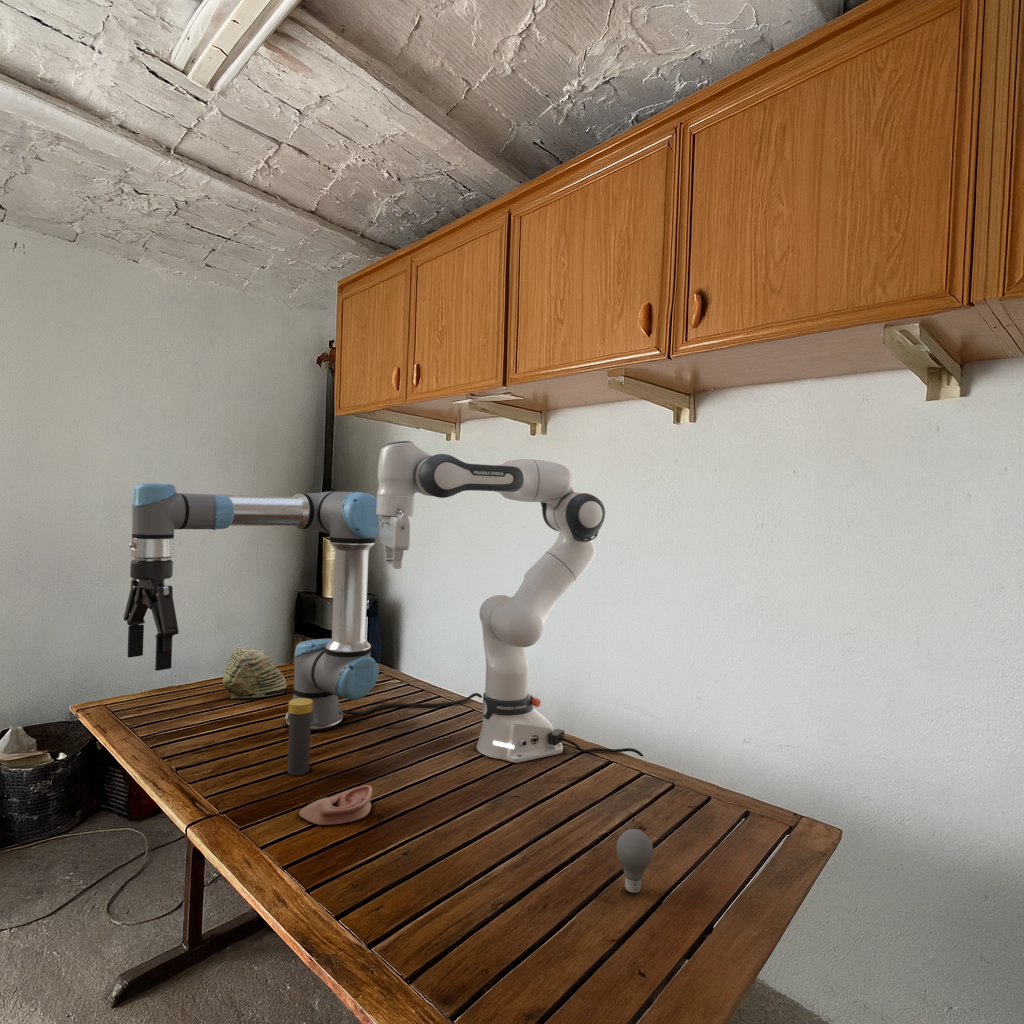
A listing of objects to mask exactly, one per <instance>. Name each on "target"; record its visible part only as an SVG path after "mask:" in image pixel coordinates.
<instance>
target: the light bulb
mask: <svg viewBox="0 0 1024 1024" xmlns="http://www.w3.org/2000/svg"><path fill="white" fill-rule="evenodd" d="M615 849H616V854H617V857H618V859H619V861H620V863H621V865H622V867H623V873H624V874H623V875H624V876H625V878H624V888H625V890H627V891H628V892H630V893H634V894H635V893H639V892H640V891H641V889H642V887H641V886H642V879H643V877H644V875H645V871H646V868H647V867H648V866H649V864H650V863H651V861H652V859H653V855H654V847H653V843H652V841H651V838H649V836H648V835H647V834H646V833H645V832H643V831H642V830H641V829H636V828H629V829H627V830H625V831H623V832H622V833H621V834H620V835H619V837H618V839H617V841H616V847H615Z"/></svg>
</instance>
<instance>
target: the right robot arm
mask: <svg viewBox="0 0 1024 1024" xmlns="http://www.w3.org/2000/svg"><path fill="white" fill-rule="evenodd" d="M377 481H378V489H377V493H376V498H377V508H376V515H379V534H378V538H379V543H380V544H381V545H383V546H384V553H385V554H384V556H385V561H384V562H385V564H387V565H392V568H393V569H395V570H401V568H402V563H403V562H402V561H403V557H404V551H409V550H410V547H411V546H410V545H411V521H410V519H409V517H415V516H414V515H415V495H416V493H418V494H421V495H422V496H426V497H435V498H439V499H445V498H450V497H453V496H456V495H458V494H460V493H463V492H469V491H475V492H477V491H478V492H495V493H499V494H500V495H501V496H502V497H503V498H504V499H507V500H511V501H516V502H522V503H523V502H524V503H525V502H526V503H540V506H541V512H542V519H543V521H544V523H545V524H546V526H547V527H549V528H550V529H552V530H553V531H555V532H558V536H557V538H556V540H555V541H554V544H553V545H552V546H551V547H549V548H548V550H546V551H545V552H544V553H543V555H542V556H541V557H540V558H538V560H537V561H535V563H533V565H532V566H530V568H529V569H528V570H527V571H526V572H525V574H524V577H523V580H522V582H521V585H520V586H519V587H518V589H517V591H516V592H515V593H514V595H513V596H509V595H506V594H497V595H492V596H489V597H487V598H486V599H485V600H484V601H483V602H482V604H481V605H480V608H479V615H478V616H479V620H480V623H481V629H482V639H483V648H484V655H485V683H484V684H485V685H484V686H485V688H484V692H483V694H482V702H481V703H482V704H481V712H482V722H481V727H480V728H481V729H480V733H479V737H478V739H477V743H476V746H475V749H476V751H478V752H479V753H480V754H482V755H483V756H486V757H489V758H493V759H498V760H503V761H508V762H510V763H515V764H518V763H523V762H528V761H532V760H537V759H541V758H546V757H550V756H555V755H559V754H563V752H564V745H563V742H565V743H567V744H570V745H572V746H574V747H575V748H576V749H577V750H578V751H579V752H580V753H591V752H604V753H625V752H632V753H635V754H636V755H638V756H640V757H644V754H643V753H642V752H641V751H640V750H638V749H636V748H633V747H632V748H631V747H623V748H604V747H593V748H582V747H581V746H580V745H578V743H576V742H575V741H573V740H570V739H569V738H566V737H565V729H560V728H556V729H554V727H553V724H552V723H551V721H549V720H548V719H547V718H546V717H545V716H544V715H543V714H542V713H541V712H539V711H538V710H537V709H536V708H539V707H540V706H541V704H542V702H541V699H539V698H538V697H535V696H533V695H532V694H530V693H528V692H529V674H530V673H529V671H530V670H529V669H530V666H529V661H528V658H527V655H526V651H525V648H529V647H531V646H533V645H535V644H536V643H537V642H539V641H540V638H541V637H542V635H543V631H544V625H545V622H546V621H547V619H548V616H549V615H550V613H551V611H552V610H553V609H554V607H555V605H556V604H557V602H558V601H560V600H561V598H562V597H563V596H564V595H565V594H566V592H567V591H568V590H569V589H570V588H571V587H572V586H573V585H574V584H575V583H576V582H577V581H578V580H579V578H580V577H582V575H583V574H584V572H585V571H586V570H587V568H588V567H589V566H590V564H591V562H592V561H593V559H594V558H595V555H596V547H595V545H594V543H593V540H595V539H596V538H597V537H598V535H599V532H600V529H601V528H602V527H603V525H604V522H605V518H606V508H605V505H604V503H603V501H601V500H600V499H599V498H598V497H597V496H595V495H593V494H591V493H588V492H575V490H574V489H573V487H572V483H573V482H572V475H571V473H570V470H569V469H568V468H567V466H565V465H563V464H560V463H557V462H553V461H547V460H542V459H531V458H523V459H521V458H520V459H511V460H506V461H504V462H503V463H501V464H494V465H493V464H479V463H468V462H464V461H462V460H461V459H458V458H457V457H455V456H452V455H451V454H447V453H437V454H434V455H432V454H430V453H428V452H426V451H424V450H423V449H421V448H419V447H418V445H416V444H415V443H414V442H413V441H410V440H402V441H394V442H389V443H386V444H385V445H383V446H382V448H381V449H380V453H379V458H378V465H377ZM534 707H535V708H534Z"/></svg>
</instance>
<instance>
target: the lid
mask: <svg viewBox="0 0 1024 1024" xmlns="http://www.w3.org/2000/svg"><path fill="white" fill-rule="evenodd" d="M292 699H293V698H292ZM292 699H290V700H288V711H289V713H291V714H306V713H309V712H311V711H312V710H313V700H311V699H308V698H298V699H293V700H292ZM288 711H287V712H288Z"/></svg>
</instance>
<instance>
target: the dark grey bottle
mask: <svg viewBox="0 0 1024 1024" xmlns="http://www.w3.org/2000/svg"><path fill="white" fill-rule="evenodd" d="M310 731H311V712H309V713H306V714H291V713H290V716H289V728H288V745H287V746H288V747H287V771H286V772H287V774H288V775H290V776H302V775H305V774H307V773H308V772H309V771H310V757H311V755H310V754H311V732H310Z"/></svg>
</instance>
